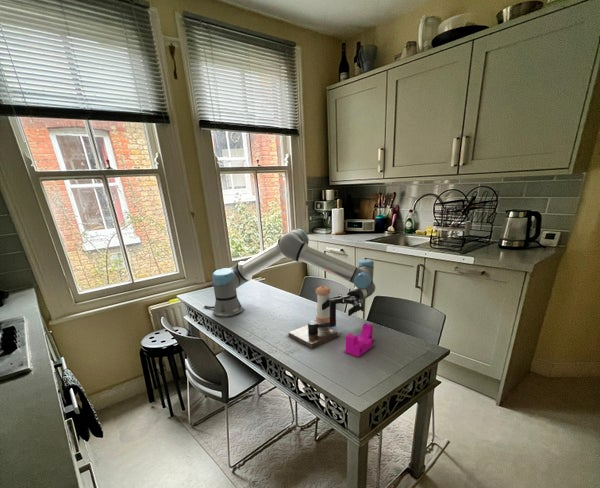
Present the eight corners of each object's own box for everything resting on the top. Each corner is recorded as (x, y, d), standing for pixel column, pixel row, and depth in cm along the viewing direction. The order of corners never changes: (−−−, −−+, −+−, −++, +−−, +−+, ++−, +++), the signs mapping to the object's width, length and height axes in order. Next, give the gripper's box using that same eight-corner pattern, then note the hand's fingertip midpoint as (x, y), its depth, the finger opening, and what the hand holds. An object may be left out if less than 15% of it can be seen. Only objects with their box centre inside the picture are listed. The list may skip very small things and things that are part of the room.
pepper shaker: (333, 321, 158) (333, 285, 150) (324, 326, 153) (323, 289, 145) (322, 318, 162) (321, 282, 154) (313, 322, 158) (312, 286, 150)
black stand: (308, 334, 142) (307, 303, 136) (308, 330, 146) (306, 300, 140) (336, 333, 141) (336, 302, 135) (335, 329, 145) (335, 298, 139)
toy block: (358, 356, 126) (358, 340, 123) (345, 352, 130) (345, 335, 127) (377, 342, 136) (378, 327, 133) (364, 338, 140) (365, 323, 137)
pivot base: (288, 336, 146) (288, 331, 145) (314, 325, 155) (314, 321, 154) (311, 348, 134) (311, 343, 133) (338, 336, 143) (338, 332, 142)
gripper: (380, 307, 151) (360, 323, 136) (334, 298, 165) (312, 312, 149) (381, 292, 148) (361, 307, 133) (334, 285, 162) (311, 297, 146)
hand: (335, 310), depth 141 cm, fingers open, 13 cm apart
